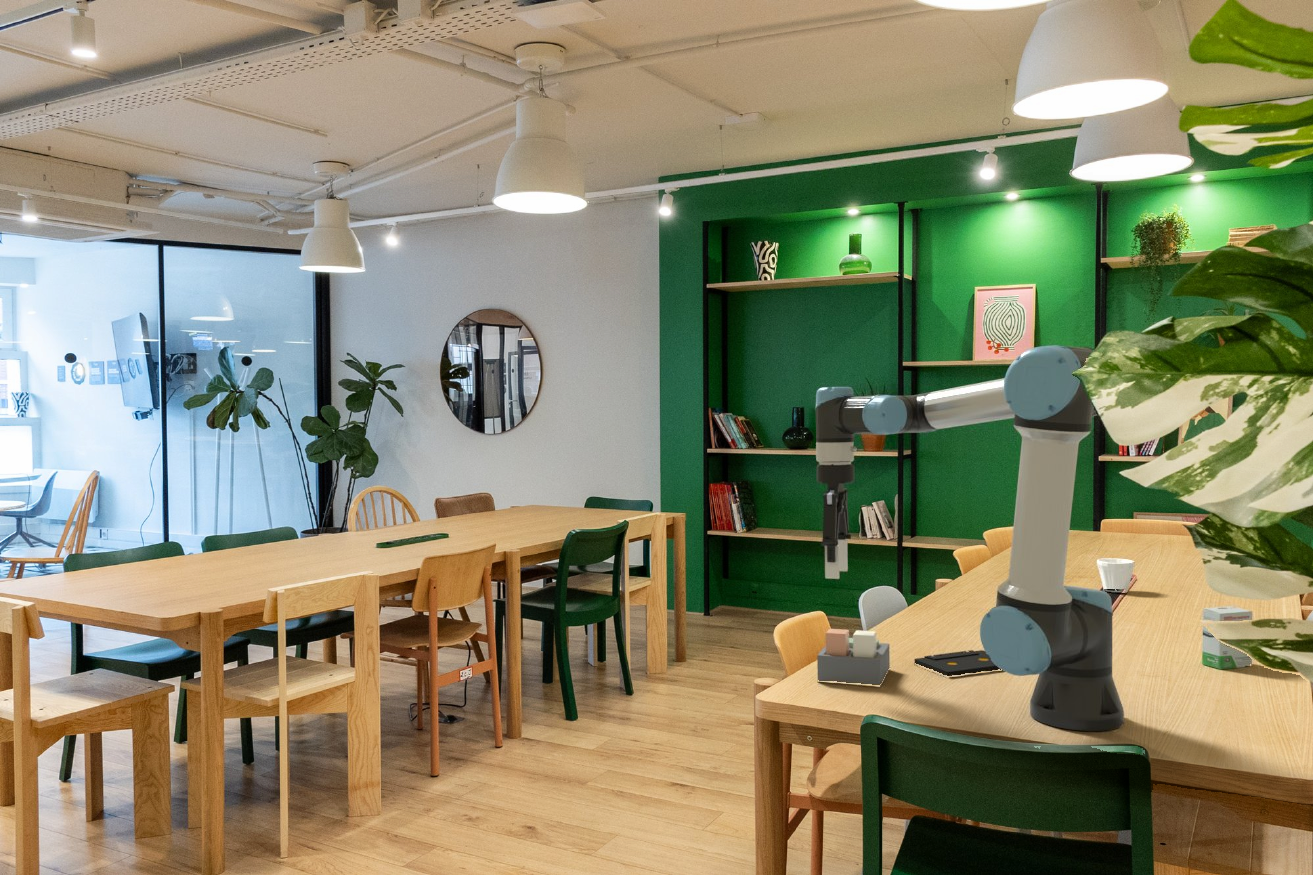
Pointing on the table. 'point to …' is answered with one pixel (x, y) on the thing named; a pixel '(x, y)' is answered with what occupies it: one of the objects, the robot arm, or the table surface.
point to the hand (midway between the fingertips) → (836, 574)
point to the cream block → (864, 644)
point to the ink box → (1217, 651)
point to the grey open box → (854, 666)
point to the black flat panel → (958, 662)
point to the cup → (1115, 572)
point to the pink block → (837, 642)
